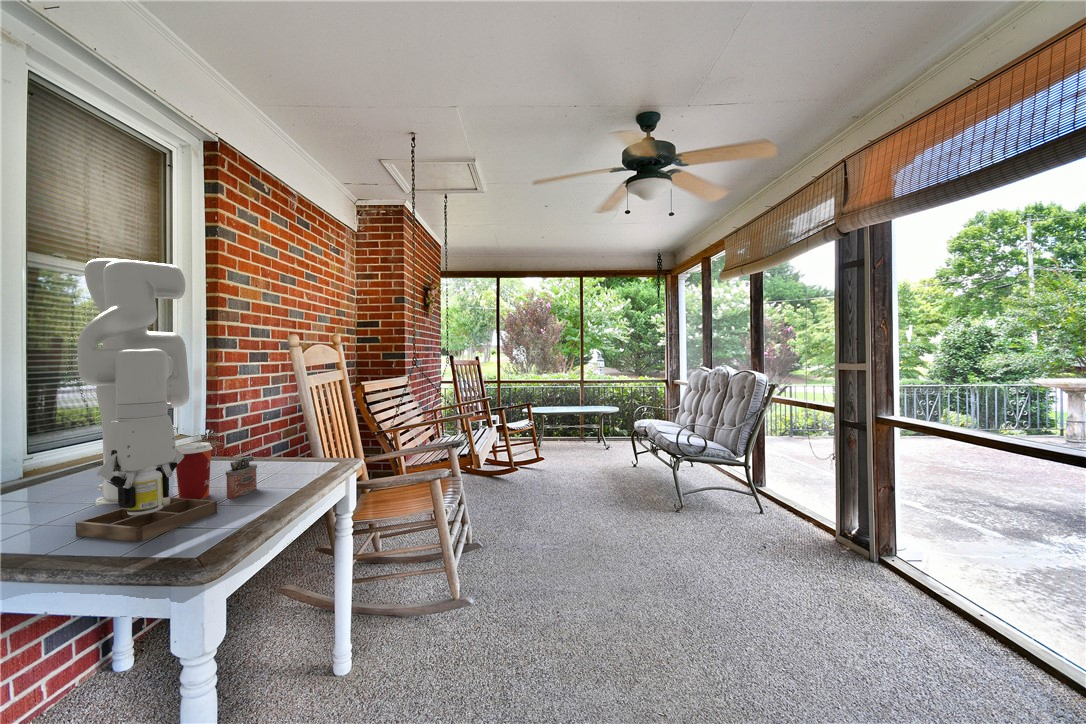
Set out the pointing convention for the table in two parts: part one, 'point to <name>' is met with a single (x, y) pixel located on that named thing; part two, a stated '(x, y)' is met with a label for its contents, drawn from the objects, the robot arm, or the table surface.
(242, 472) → the lighter
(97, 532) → the wooden compartment tray
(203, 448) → the paper cup
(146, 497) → the supplement bottle
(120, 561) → the table surface
